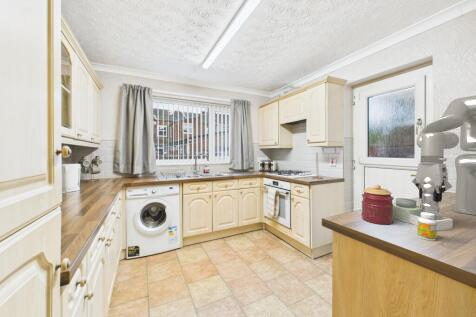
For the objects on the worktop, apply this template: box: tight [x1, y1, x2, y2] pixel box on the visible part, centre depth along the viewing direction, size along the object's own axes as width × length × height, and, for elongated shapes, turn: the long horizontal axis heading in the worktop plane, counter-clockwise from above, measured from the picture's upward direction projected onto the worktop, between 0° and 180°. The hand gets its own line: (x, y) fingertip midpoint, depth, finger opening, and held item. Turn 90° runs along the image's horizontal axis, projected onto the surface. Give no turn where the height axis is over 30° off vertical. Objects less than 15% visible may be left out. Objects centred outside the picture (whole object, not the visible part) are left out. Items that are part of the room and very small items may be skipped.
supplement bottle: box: [417, 212, 437, 242], centre depth 81 cm, size 5×5×10 cm
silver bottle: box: [419, 177, 440, 215], centre depth 94 cm, size 6×7×20 cm
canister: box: [360, 184, 394, 226], centre depth 101 cm, size 13×13×18 cm
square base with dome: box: [392, 197, 454, 232], centre depth 100 cm, size 12×22×9 cm, turn 15°
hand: (429, 199), depth 94 cm, fingers closed on silver bottle, 5 cm apart
